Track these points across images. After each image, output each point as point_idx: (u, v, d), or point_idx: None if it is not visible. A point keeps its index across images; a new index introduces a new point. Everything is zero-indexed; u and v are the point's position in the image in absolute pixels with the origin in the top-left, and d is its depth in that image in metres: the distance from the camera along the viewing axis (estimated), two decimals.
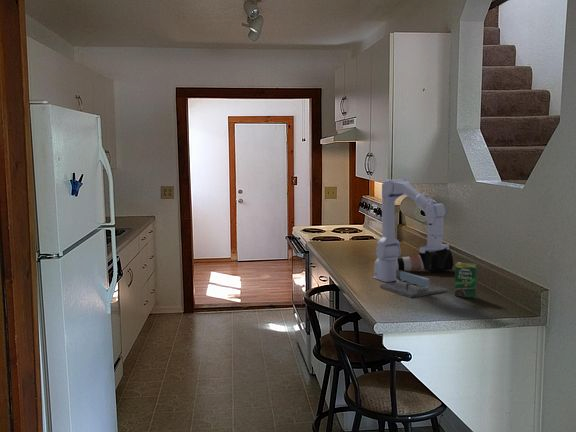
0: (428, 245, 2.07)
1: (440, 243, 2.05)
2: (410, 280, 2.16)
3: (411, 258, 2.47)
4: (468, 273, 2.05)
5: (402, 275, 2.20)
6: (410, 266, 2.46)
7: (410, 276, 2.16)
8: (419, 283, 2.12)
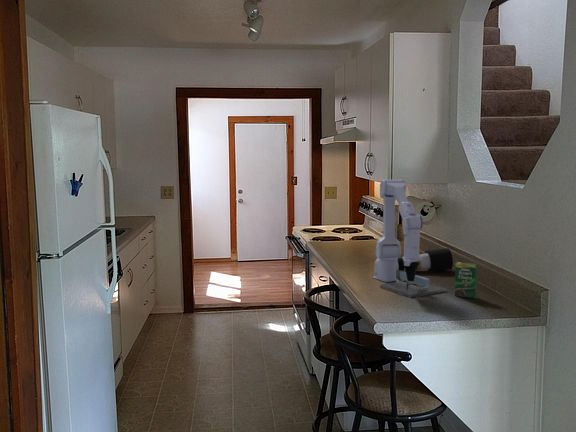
0: (408, 257, 2.05)
1: (418, 254, 2.06)
2: None
3: None
4: (468, 273, 2.05)
5: (402, 275, 2.20)
6: None
7: None
8: (419, 283, 2.12)
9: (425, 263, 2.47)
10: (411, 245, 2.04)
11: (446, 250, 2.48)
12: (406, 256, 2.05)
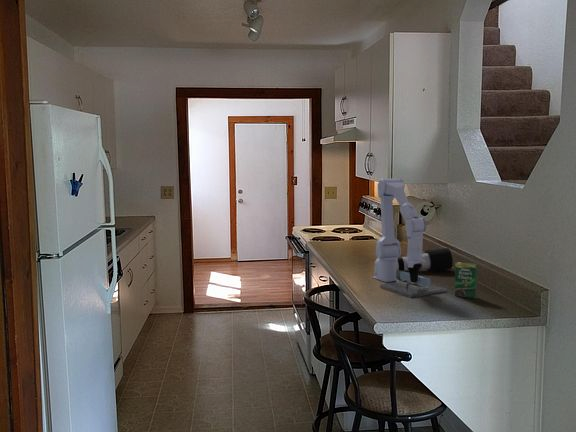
0: (411, 259, 2.10)
1: (421, 256, 2.11)
2: None
3: None
4: (468, 273, 2.05)
5: (402, 275, 2.20)
6: None
7: None
8: (420, 283, 2.12)
9: (425, 263, 2.47)
10: (415, 247, 2.09)
11: (445, 250, 2.48)
12: (409, 258, 2.10)
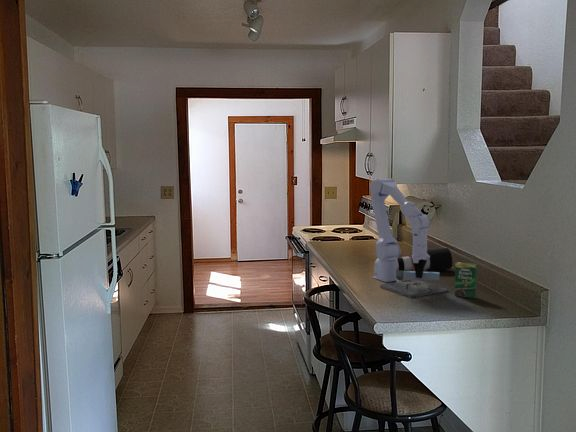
0: (416, 255, 2.17)
1: (426, 252, 2.17)
2: None
3: (411, 258, 2.48)
4: (468, 273, 2.05)
5: (407, 274, 2.21)
6: (410, 266, 2.47)
7: None
8: (431, 278, 2.20)
9: None
10: (423, 243, 2.15)
11: (445, 250, 2.49)
12: (415, 254, 2.17)
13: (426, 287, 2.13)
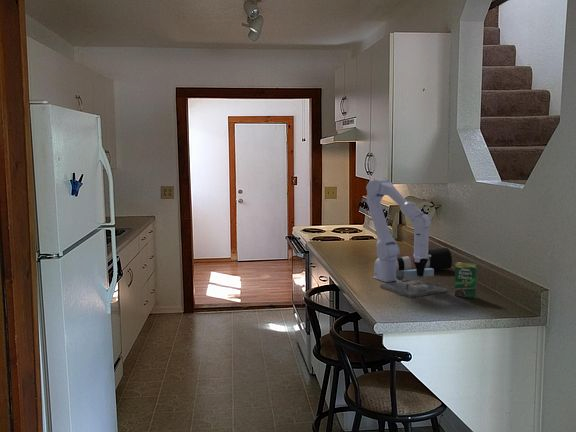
0: (417, 254, 2.20)
1: (427, 251, 2.21)
2: None
3: (411, 258, 2.48)
4: (468, 273, 2.05)
5: (407, 273, 2.23)
6: (410, 266, 2.47)
7: (416, 271, 2.24)
8: (427, 274, 2.26)
9: None
10: (425, 243, 2.19)
11: (445, 250, 2.49)
12: (416, 253, 2.20)
13: (426, 287, 2.13)
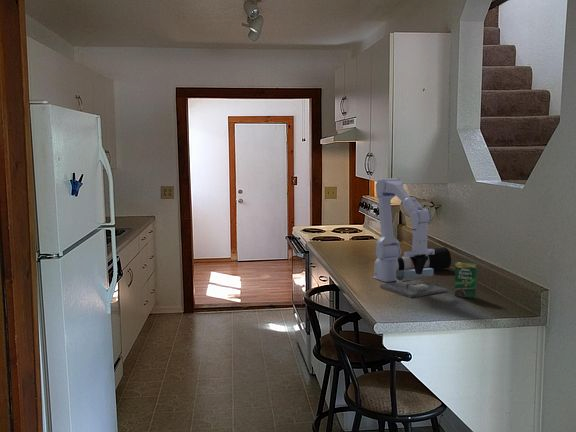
0: (413, 250, 2.11)
1: (424, 248, 2.09)
2: (416, 275, 2.25)
3: None
4: (468, 273, 2.05)
5: (407, 273, 2.23)
6: (410, 265, 2.48)
7: None
8: (427, 274, 2.26)
9: None
10: (421, 239, 2.09)
11: (444, 249, 2.51)
12: (412, 249, 2.12)
13: (426, 287, 2.13)
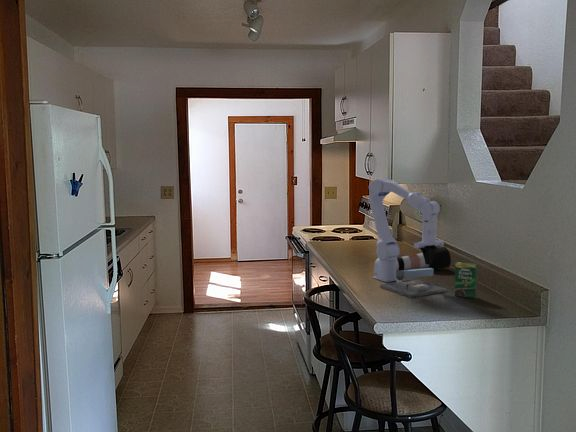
0: (423, 241, 2.17)
1: (434, 239, 2.16)
2: (416, 275, 2.25)
3: (410, 257, 2.49)
4: (468, 273, 2.05)
5: (407, 273, 2.23)
6: (410, 265, 2.48)
7: (416, 271, 2.24)
8: (427, 274, 2.26)
9: (424, 262, 2.49)
10: (433, 230, 2.15)
11: (443, 249, 2.51)
12: (422, 240, 2.18)
13: (426, 287, 2.13)
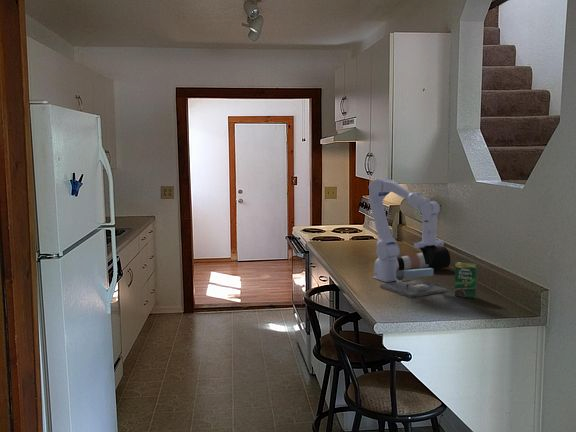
0: (423, 241, 2.17)
1: (434, 239, 2.16)
2: (416, 275, 2.25)
3: (410, 257, 2.49)
4: (468, 273, 2.05)
5: (407, 273, 2.23)
6: (410, 265, 2.48)
7: (416, 271, 2.24)
8: (427, 274, 2.26)
9: (424, 262, 2.49)
10: (433, 230, 2.15)
11: (443, 249, 2.52)
12: (422, 240, 2.18)
13: (426, 287, 2.13)
